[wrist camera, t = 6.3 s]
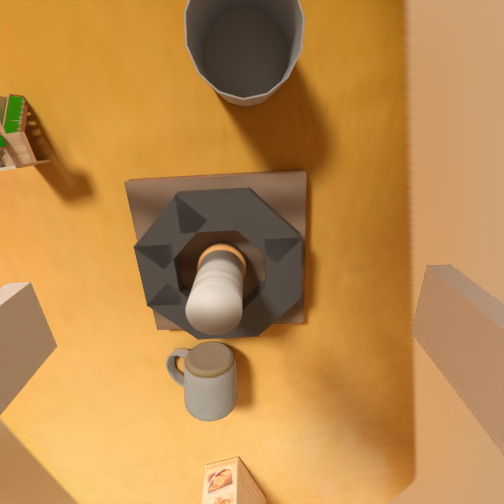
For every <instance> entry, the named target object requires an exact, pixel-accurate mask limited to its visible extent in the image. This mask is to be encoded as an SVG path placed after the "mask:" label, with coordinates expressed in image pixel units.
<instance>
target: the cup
mask: <svg viewBox="0 0 504 504" xmlns="http://www.w3.org/2000/svg"><path fill="white" fill-rule="evenodd" d="M304 21H305V17H304V14H303V10H302V7H301V3H300V0H188V2H187V5H186V8H185V11H184V24H185V45H186V48H187V50H188V52H189V54H190V57H191V59H192V61H193V63H194V66H195V68H196V70H197V73H198V74H199V75H200V76H201V77H202V78H203V79H204V80H205V81H206V82H207V83H208V84H209V85H210V86H211V87H212V88H213V89H214V90H215V91H216V92H217V93H218V94H219V95H220V96H221V97H222V98H223V99H224V100H226V101H227V102H228V103H232V104H235V105H239V106H242V107H248V106H253V105H257V104H262V103H263V102H264V101H266V100H267V99H268V98H269V97H270V96H272V95H273V94H274V93H275V92H277V90H278V89H279V88H280V87H281V86H282V85H283V83H284V82H285V81H286V80H287V79H288V77H289V75H290V73H291V71H292V69H293V67H294V65H295V63H296V61H297V59H298V57H299V55H300V53H301V51H302V44H303V32H304Z"/></svg>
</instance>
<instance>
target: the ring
mask: <svg viewBox="0 0 504 504" xmlns="http://www.w3.org/2000/svg"><path fill="white" fill-rule="evenodd" d="M231 230H237V231H238V232H239V233H240V234H241V235H243V236H244V237H245V238H246V239H247V240H249V241H250V242H251V243H252V244H253V245H255V246H256V247H257V248H258V249H259V250H261V251H262V252H263V253H264V256H265V280H264V281H263V282H262V283H261V284H259V285H258V286H257V287H256V288H255V289H254V290H253V291H252V292H251V293H250V294H249V295H248V296H247V297H246V298H245V299H244V300H243V301H242V317H241V320H240V322H239V324H238V325H237V327H236V328H234V329H233V330H232V331H230V332H228V333H226V334H222V335H208V334H204V333H202V332H199V331H198V330H196V329H195V328H194V327H193V326H192V325H191V324H190V323H189V321H188V319H187V317H186V311H185V310H186V304H187V301H188V299H189V296H190V293H191V290H192V289H190V288H189V287H188V286H186V285H185V284H183V281H182V275H181V269H180V263H179V257H178V253H179V252H180V251H181V250H182V249H183V248H184V247H185V245H186V244H187V243H188V242H189V241H190V240H191V238H192V237H193V236H194V235H195V234H196V233H197V232H212V231H231ZM134 250H135V254H136V258H137V263H138V267H139V271H140V275H141V280H142V284H143V288H144V293H145V297H146V301H147V306H149V307H150V308H152V309H153V310H155V311H156V312H158V313H159V314H161V315H162V316H164V317H165V318H167V319H168V320H170V321H171V322H173V323H174V324H176V325H177V326H179V327H180V328H182V329H183V330H185V331H186V332H188V333H189V334H191V335H192V336H194V337H195V338H197V339H198V340H199V339H213V338H233V337H253V336H257V337H258V336H259V335H260V334H261V333H262V332H263V331H264V330H266V329H267V328H268V327H269V326H270V325H271V324H272V323H273V322H274V321H276V320H277V319H278V318H279V317H280V316H281V315H282V314H283V313H285V312H286V311H287V310H288V309H289V308H290V307H291V306H292V305H294V304H295V303H296V302H297V301H298V300H299V299H300V298H301V272H302V236H301V234H300V232H299V231H298V230H297V229H296V228H294V227H293V226H292V225H291V224H290V223H289V222H288V221H287V220H285V219H284V218H283V217H282V216H281V215H280V214H279V213H278V212H277V211H275V210H274V209H273V208H272V207H271V206H270V205H269V204H268V203H267V202H265V201H264V200H263V199H262V198H261V197H260V196H259V195H258V194H257V193H255V192H254V191H253V190H252V189H251V188H250V187H247V188H229V189H211V190H193V191H179V192H178V193H177V194H175V195H174V198H173V199H172V200H171V201H170V203H169V204H168V205H167V206H166V208H165V209H164V210H163V211H162V213H161V214H160V215H159V216H158V218H157V219H156V220H155V221H154V223H153V224H152V225H151V226H150V228H149V229H148V230H147V231H146V233H145V234H144V235H143V236H142V238H141V239H140V240H139V241H138V242H137V243H136V245H135V246H134Z"/></svg>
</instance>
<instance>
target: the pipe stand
mask: <svg viewBox="0 0 504 504" xmlns="http://www.w3.org/2000/svg"><path fill="white" fill-rule="evenodd" d="M306 177H307V172H306V171H305V170H287V171H269V172H251V173H233V174H215V175H198V176H180V177H162V178H144V179H130V180H128V181H126V182H124V183H125V188H126V192H127V197H128V201H129V206H130V210H131V215H132V219H133V224H134V228H135V232H136V237H137V241H139V240H140V239H141V238H142V236H143V235H144V234H145V233H146V231H147V230H148V229H149V228H150V226H151V225H152V224H153V223H154V221H155V220H156V219H157V218H158V216H159V215H160V214H161V213H162V211H163V210H164V209H165V208H166V206H167V205H168V204H169V203H170V201H171V200H172V199H173V198H174V195H175V194H177V193H178V192H179V191H193V190H211V189H229V188H247V187H250V188H251V189H252V190H253V191H254V192H255V193H257V194H258V195H259V196H260V197H261V198H262V199H263V200H264V201H265V202H267V203H268V204H269V205H270V206H271V207H272V208H273V209H274V210H275V211H277V212H278V213H279V214H280V215H281V216H282V217H283V218H284V219H285V220H287V221H288V222H289V223H290V224H291V225H292V226H293V227H294V228H296V229H297V230H298V231H299V232H300V234H301V236H302V272H301V298H300V299H299V300H298V301H297V302H296V303H295V304H294V305H292V306H291V307H290V308H289V309H288V310H287V311H286V312H285V313H283V314H282V315H281V316H280V317H279V318H278V319H277V320H276V321H274V322H273V323H272V324H284V323H303V322H304V274H305V226H306ZM178 257H179V263H180V269H181V275H182V281H183V284H185V285H186V286H188V287H189V288H190V289H192V290H191V293H190V296H189V299H188V301H187V304H186V310H185V311H186V317H187V319H188V321H189V323H190V324H191V325H192V326H193V327H194V328H195V329H196V330H198V331H199V332H202V333H204V334H208V335H222V334H226V333H228V332H230V331H232V330H233V329H234V328H236V327H237V325H238V324H239V322H240V320H241V317H242V301H243V300H244V299H245V298H246V297H247V296H248V295H249V294H250V293H251V292H252V291H253V290H254V289H255V288H256V287H257V286H258V285H259V284H261V283H262V282H263V281H264V280H265V256H264V253H263V252H262V251H261V250H259V249H258V248H257V247H256V246H255V245H253V244H252V243H251V242H250V241H249V240H247V239H246V238H245V237H244V236H243V235H241V234H240V233H239V232H238V231H237V230H231V231H212V232H197V233H196V234H195V235H194V236H193V237H192V238H191V240H190V241H189V242H188V243H187V244H186V245H185V247H184V248H183V249H182V250H181V251H180V252H179V253H178ZM153 313H154V317H155V322H156V326H157V330H166V329H182V328H180V327H179V326H177V325H176V324H174V323H173V322H171V321H170V320H168V319H167V318H165V317H164V316H162V315H161V314H159V313H158V312H156V311H155V310H153Z"/></svg>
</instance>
